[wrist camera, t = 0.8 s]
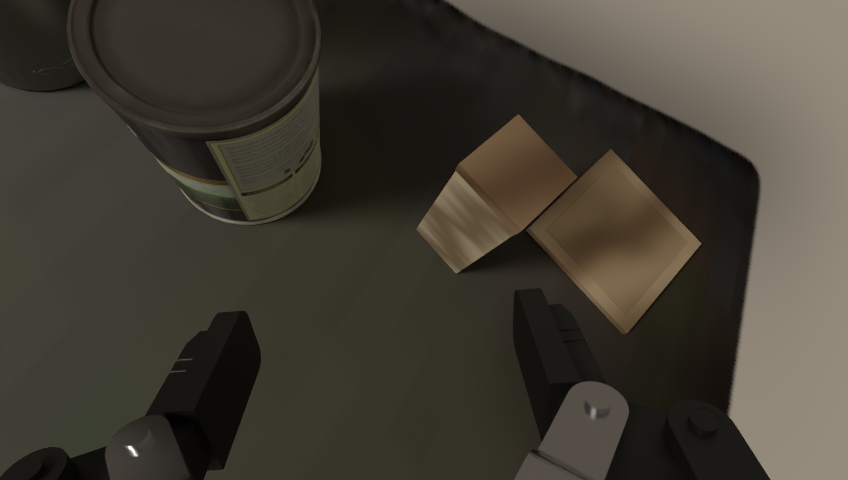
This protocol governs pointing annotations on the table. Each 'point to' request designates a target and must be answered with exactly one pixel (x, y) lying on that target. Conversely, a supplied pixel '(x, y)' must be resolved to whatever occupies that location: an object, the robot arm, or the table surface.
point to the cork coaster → (615, 240)
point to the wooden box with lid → (494, 194)
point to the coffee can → (213, 94)
